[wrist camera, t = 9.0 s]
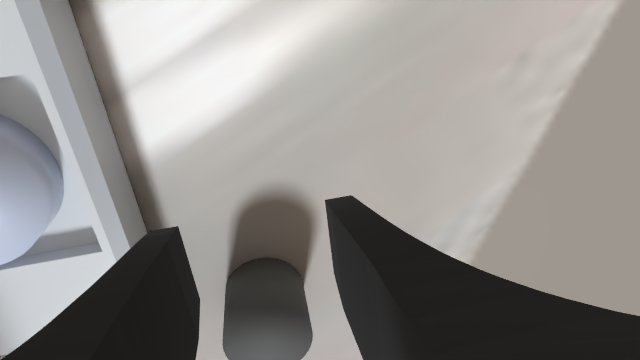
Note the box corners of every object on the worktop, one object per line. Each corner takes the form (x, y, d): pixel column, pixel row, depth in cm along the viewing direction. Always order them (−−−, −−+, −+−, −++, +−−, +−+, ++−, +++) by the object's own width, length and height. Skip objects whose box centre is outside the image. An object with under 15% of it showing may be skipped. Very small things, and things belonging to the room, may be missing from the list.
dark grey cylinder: (307, 312, 24) (317, 363, 20) (234, 327, 23) (232, 381, 20) (297, 251, 22) (306, 297, 19) (218, 266, 21) (213, 315, 18)
